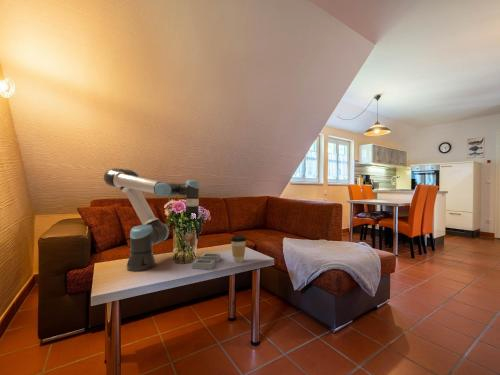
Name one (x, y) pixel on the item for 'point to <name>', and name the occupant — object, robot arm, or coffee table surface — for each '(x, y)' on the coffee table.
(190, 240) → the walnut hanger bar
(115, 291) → the coffee table surface
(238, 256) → the coffee cup
